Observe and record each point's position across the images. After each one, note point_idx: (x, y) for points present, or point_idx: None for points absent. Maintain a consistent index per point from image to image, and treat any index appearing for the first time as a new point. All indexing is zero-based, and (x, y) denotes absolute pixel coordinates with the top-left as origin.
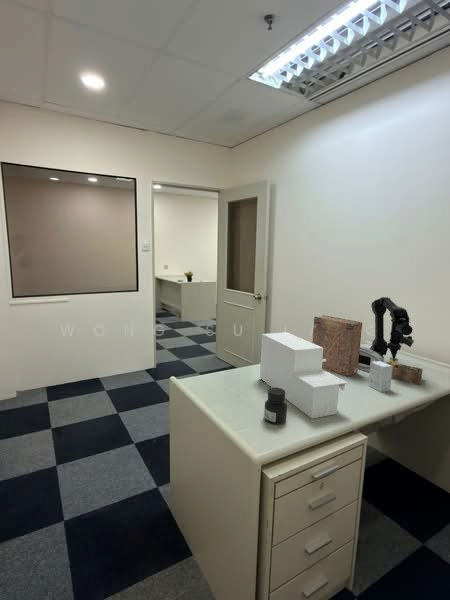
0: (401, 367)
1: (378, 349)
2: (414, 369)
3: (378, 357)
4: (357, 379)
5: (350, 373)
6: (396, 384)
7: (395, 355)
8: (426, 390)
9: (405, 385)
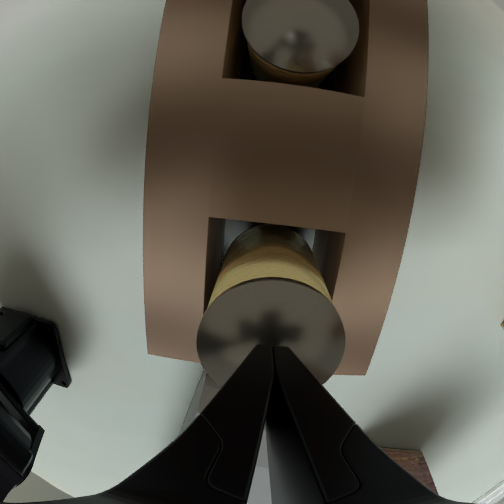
0: (297, 180)
1: (11, 445)
2: (319, 13)
3: (263, 476)
4: (444, 418)
5: (418, 462)
6: (470, 211)
7: (320, 390)
8: (471, 16)
9: (462, 144)
